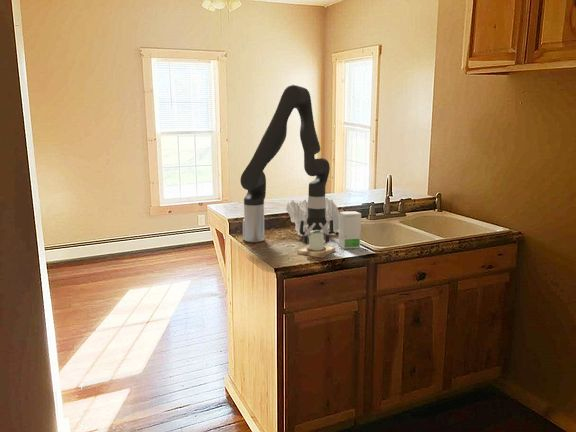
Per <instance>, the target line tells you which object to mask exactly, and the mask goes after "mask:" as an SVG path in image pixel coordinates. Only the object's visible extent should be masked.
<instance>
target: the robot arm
mask: <svg viewBox="0 0 576 432" xmlns="http://www.w3.org/2000/svg"><path fill="white" fill-rule="evenodd" d="M311 98H312V97H311V94H310V91H309V90H308V89H307V88H305V87H304V86H299V85H295V84H289V85H288V86H287V87H286V88H285V89H284V90H283V92H282V95H281V96H280V99H279V100H278V101H279V102H278V104H277V107H276V109H275V112H274V114H273V116H272V119H271V120H270V122H269V125H268V126H267V127H266V130H265V132H264V134H263V135H262V138H261V139H260V141H259V144H258V146H257V148H256V149H255V152H254V154H253V156H252V157H251V160H250V161H249V163H248V164H247V165H246V167H245V169H244V170H243V172H242V174H241V175H240V185H241V187H242V188H243V189H245V190H246V191H247V193H246V195H245V196H244V198H243V215H244V217H243V220H242V240H243V241H245V242H249V243H260V242H263V241H264V240H265V199H266V196H267V192H266V191H267V179H266V178H267V177H266V174H265V172H264V170H265V168H266V166H268V164H269V163H270V162H271V161H272V160H273V159H274V158H275V156H277V154H278V153H279V151H280V150H281V149H282V147H283V144H284V143H285V141H286V138H287V131H288V130H287V129H288V121H289V118H290V116H291V115H292V112H293V111H294V109H296V110H297V113H298V115H299V117H300V129H299V137H300V142H301V146H302V149H303V167H304V169H303V170H304V171H305V173H306V175H308V176H309V177H315V178H314V180H312V181H311V182H309V184H308V197H307V202H308V219H307V220H300V231H299V232H300V234H301V235H303V243H304V244H305V245H308V244H309V234H308V233H309V232H310V231H311V230H321V229H323V231H324V232H325V233H326V234H324V243H325V244H326V245H327V244H328V243H329V242H330V235H332V234H334V232H333V220H332V219H329V220H326V186H327V182H328V178H329V174H330V170H331V167H330V163H329V161H328V160H327V159H326V158H315V155H316V154H319V153H320V152H321V146H320V142H319V138H318V134H317V131H316V127H315V121H314V114H313V106H312V105H313V104H312V99H311ZM326 223H328V224H329V229H328V230H326V228H325V227H324V226H325V224H326ZM306 224H308V225H309V226H308V227H307V228H306V229H305V232H304V231H303V225H306ZM301 235H300V236H301Z"/></svg>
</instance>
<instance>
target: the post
mask: <svg viewBox="0 0 576 432" xmlns="http://www.w3.org/2000/svg"><path fill="white" fill-rule="evenodd" d="M335 249H336V247H334V246H329V245H324V249H322V250H311V249H309V243H308V244H305V246H303V247H301V248H298V249H297V250H296V253H297V255H304V256H310V257H317V258H322V259H323V258H325V257H327V256H328V255H330V254H331V253H333V252H335Z"/></svg>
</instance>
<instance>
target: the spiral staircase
mask: <svg viewBox="0 0 576 432" xmlns="http://www.w3.org/2000/svg"><path fill="white" fill-rule="evenodd" d="M325 199H326V220H329V219H332V220H333V233H334V234H336V233H337V232H339V212H340V211H339V208H338V206H337V204H336V203H335V202H334V201H333V200H334V199H329V198H328V197H325ZM285 210H286V211H287V213H288V215H289V216H290V221H291V223H294V224H295V228H294V230H295V231H296V232H297V235H296V236H300V238H302V237H304V235H301V234H300V232H299V231H300V220H307V219H308V201H307V200H306V199H304V200H303V201H299V202H295V201H294V199H293V200H291V201H290V202H287V205H286V209H285ZM308 226H309V225H308V224H307V223H306V224H305V225H303V231H304V232H305V230H306V229H307V227H308ZM324 227H325V228H326V230H327V231H329V230H330V228H329V224H328V223H326V224H325V226H324ZM311 231H317V230H311ZM321 231H322V232H323V235H325V234H326V233H325V232H324V231H323V229H321ZM307 235H309V233H308V234H307Z"/></svg>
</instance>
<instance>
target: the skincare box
mask: <svg viewBox="0 0 576 432" xmlns="http://www.w3.org/2000/svg"><path fill="white" fill-rule="evenodd" d="M361 226H362V213H361V212H358V211H350V210H349V211H339V229H338V240H337V241H338V243H337V245H338V247H340V248H341V249H344V250H346V249H358V248H359V249H360V248H361V231H362V230H361V229H362V227H361Z"/></svg>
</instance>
